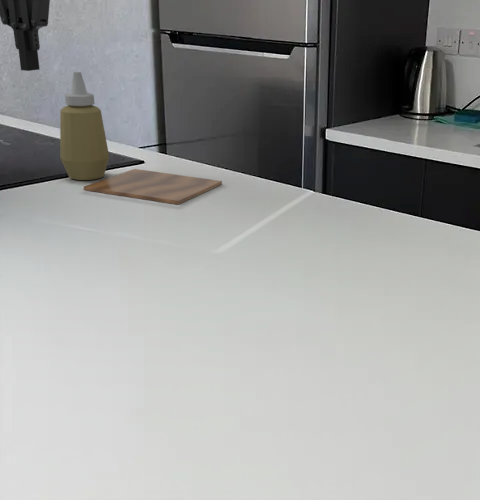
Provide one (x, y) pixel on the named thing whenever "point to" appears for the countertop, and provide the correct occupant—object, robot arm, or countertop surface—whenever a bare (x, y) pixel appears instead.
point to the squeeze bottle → (82, 134)
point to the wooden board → (154, 186)
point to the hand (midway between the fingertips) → (30, 69)
